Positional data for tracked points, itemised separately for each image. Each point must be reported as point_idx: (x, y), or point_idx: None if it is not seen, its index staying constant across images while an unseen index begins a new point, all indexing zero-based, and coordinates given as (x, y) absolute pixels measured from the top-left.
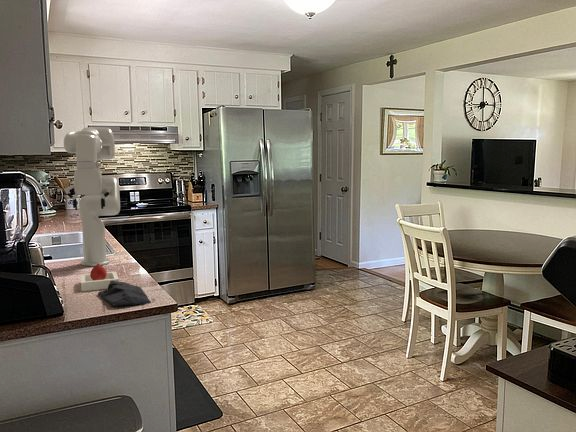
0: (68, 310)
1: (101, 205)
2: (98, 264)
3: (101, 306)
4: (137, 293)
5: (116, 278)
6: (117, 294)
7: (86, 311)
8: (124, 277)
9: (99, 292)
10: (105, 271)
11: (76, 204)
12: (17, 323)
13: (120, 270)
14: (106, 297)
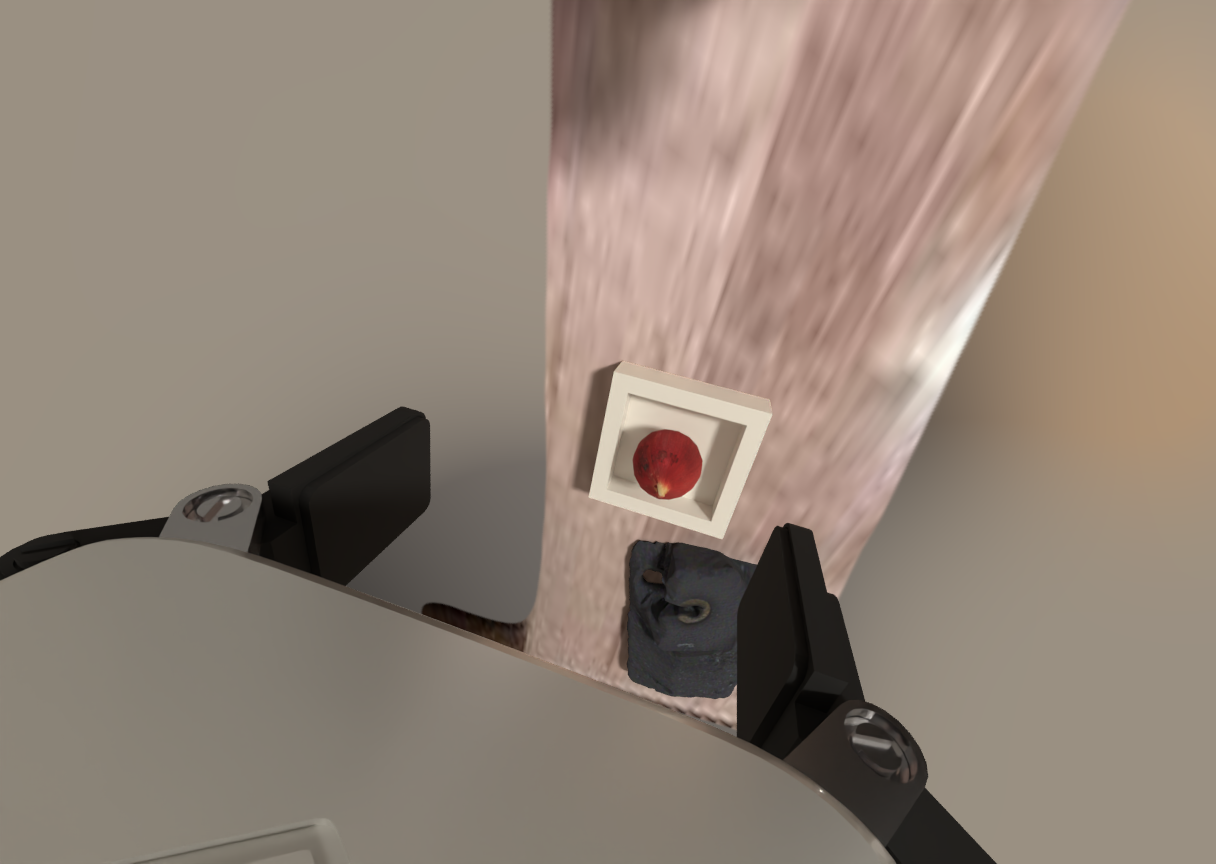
0: (537, 608)
1: (737, 652)
2: (659, 496)
3: (612, 635)
4: (717, 662)
5: (718, 526)
6: (656, 654)
7: (572, 640)
8: (816, 392)
9: (633, 561)
10: (690, 489)
11: (373, 550)
12: (440, 608)
13: (887, 216)
14: (630, 628)
